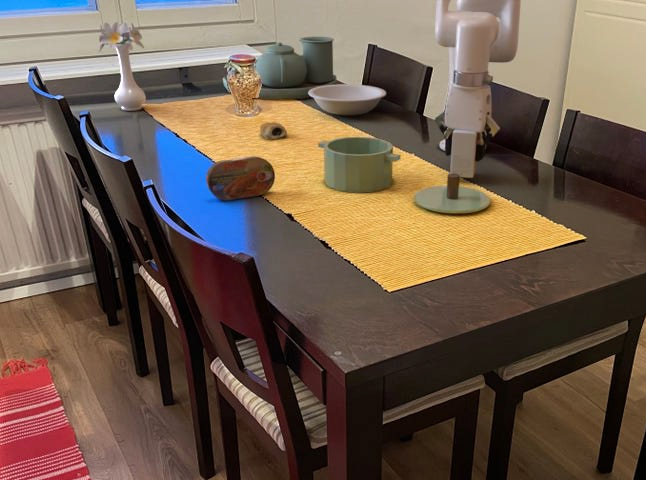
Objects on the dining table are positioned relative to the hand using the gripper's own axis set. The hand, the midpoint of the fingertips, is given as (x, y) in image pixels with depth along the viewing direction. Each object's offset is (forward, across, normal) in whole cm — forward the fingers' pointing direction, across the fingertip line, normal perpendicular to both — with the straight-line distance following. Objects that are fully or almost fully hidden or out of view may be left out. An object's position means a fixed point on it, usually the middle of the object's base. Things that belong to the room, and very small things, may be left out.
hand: (464, 156), depth 175 cm
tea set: (+8, +98, -57) cm, 114 cm away
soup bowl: (+7, +59, -39) cm, 71 cm away
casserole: (+5, +20, +16) cm, 26 cm away
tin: (+5, +36, +39) cm, 53 cm away
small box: (+4, 0, 0) cm, 4 cm away
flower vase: (+7, +119, -6) cm, 119 cm away
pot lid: (+4, -5, +17) cm, 18 cm away
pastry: (+7, +62, -5) cm, 62 cm away
